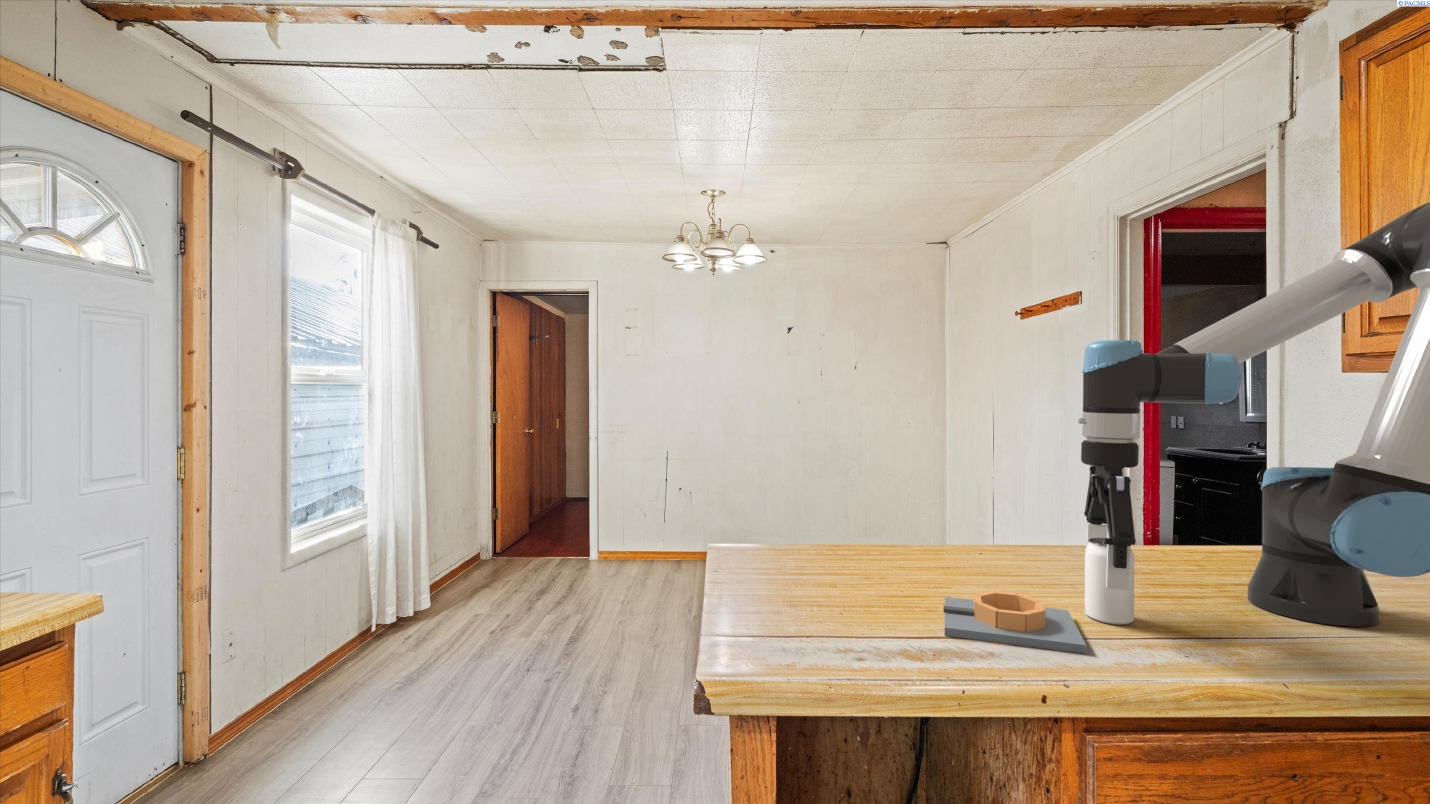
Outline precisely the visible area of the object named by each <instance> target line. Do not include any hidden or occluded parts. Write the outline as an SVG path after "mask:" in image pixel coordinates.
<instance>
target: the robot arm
mask: <svg viewBox="0 0 1430 804" xmlns="http://www.w3.org/2000/svg"><path fill="white" fill-rule="evenodd" d="M1416 288H1418V289H1419V295H1418V296H1417V300H1416V301H1415V305H1414V306H1413V309H1412V311H1411V314H1410V317H1409V319H1408V322H1407V325H1406V327H1405V330H1404V332H1403V334H1402V337H1401V339H1400V342H1399V345H1398V347H1397V350H1396V352H1395V354H1394V357H1393V359H1392V363H1391V364H1390V367H1389V368H1388V372H1387V374H1386V377H1385V379H1384V382H1383V384H1382V386H1381V389H1380V392H1379V394H1378V397H1377V399H1376V402H1375V404H1374V406H1373V409H1372V412H1371V414H1370V416H1369V418H1368V421H1367V424H1366V427H1365V429H1364V431H1363V434H1362V436H1361V439H1360V442H1359V445H1358V446H1357V449H1356V450H1355V451H1356V452H1354V453H1353V454H1352V455H1349V456H1347V457H1344V458H1342V459H1339V460H1337V461H1336V462H1335V463H1334V466H1333V467H1311V466H1310V467H1304V466H1303V467H1302V466H1300V467H1299V466H1295V467H1294V466H1274V467H1270V468H1267V469H1266V470H1265V471H1264V473H1263V476H1262V477H1263V478H1262V485H1261V487H1260V490H1261V497H1262V498H1261V557H1260V559H1259V561H1258V563H1257V565H1256V568H1255V569H1254V570H1253V571H1254V572H1253V574H1252V577H1251V578H1250V579H1249V583H1248V585H1247V600H1248V601H1249V602H1250V603H1251V604H1253V605H1254V606H1255V607H1259V608H1261V609H1263V610H1266V611H1268V612H1272V613H1274V614H1278V615H1281V616H1285V617H1289V618H1293V619H1297V620H1302V621H1306V622H1307V621H1308V622H1311V623H1317V624H1324V625H1331V626H1341V627H1357V628H1358V627H1373V626H1375V625H1378V624H1379V623H1380V607H1379V604H1378V602H1377V600H1376V597H1375V595H1374V592H1373V589H1372V587H1371V585H1370V583H1369V580H1368V578H1367V575H1366V573H1365V571H1367V572H1371V573H1372V572H1373V573H1377V574H1379V575H1384V576H1389V577H1396V578H1410V577H1411V578H1412V577H1419V576H1423V575H1426V574H1430V202H1427V203H1423V204H1422V205H1419V206H1416V207H1414V208H1412V209H1411V210H1409V211H1407V212H1405V213H1404V214H1402V215H1399V217H1397V218H1395V219H1393V220H1391V221H1390V222H1388V223H1387V224H1384V225H1383V226H1382V227H1379V228H1378V229H1377V230H1375V231H1372V233H1370V234H1368V235H1367V236H1364V237H1363V238H1361V239H1359V240H1358V241H1356V242H1354V243H1353V244H1351V245H1349V246H1347V247H1345V248H1344V249H1341V250H1339V251H1338V252H1336V253H1335V254H1334V256H1333V257H1332V261H1331V263H1328V264H1326V265H1324V266H1323V267H1321V268H1319V269H1318V270H1317V269H1316V270H1315V271H1313V272H1312V273H1309V274H1307V275H1306V276H1303V277H1301V278H1300V279H1297V280H1296V281H1294V282H1292V283H1290V284H1288V285H1285V286H1284V287H1282V288H1281V289H1278V290H1276V291H1274V292H1273V293H1271V294H1269V295H1267V296H1265V297H1263V298H1261V299H1259V300H1257V301H1255V302H1254V303H1251V304H1250V305H1247V306H1246V307H1244V308H1242V309H1240V310H1238V311H1236V312H1234V313H1232V314H1230V315H1228V316H1226V317H1224V318H1222V319H1220V320H1218V321H1216V322H1215V323H1213V324H1210V325H1208V326H1206V327H1205V328H1203V329H1201V330H1199V331H1197V332H1195V333H1193V334H1191V335H1189V336H1188V337H1185V338H1183V339H1181V340H1179V341H1178V342H1175V343H1174V344H1172V345H1171V346H1169V347H1166V348H1164V349H1162V350H1160V351H1158V352H1157V353H1148V352H1147V353H1146V352H1144V350H1143V347H1142V343H1141V342H1140V341H1138V340H1135V339H1134V340H1129V339H1128V340H1126V339H1118V340H1117V339H1113V340H1111V339H1110V340H1109V339H1108V340H1097V341H1091V342H1089V343H1088V344H1087V345H1086V346H1085V348H1084V358H1083V366H1082V370H1081V371H1082V417H1080V418H1078V419H1077V423H1078V424H1079V425H1082V427H1081V428H1082V429H1081V430H1082V431H1081V435H1082V437H1084V438H1086V439H1085V440H1082V442H1081V444H1080V446H1081V447H1080V450H1081V451H1080V461H1081V462H1082V463H1083V464H1084V465H1087V466H1090V467H1089V480H1088V487H1087V494H1086V501H1085V508H1084V512H1083V513H1084V516H1085V517H1086V522H1087V523H1086V524H1087V525H1086V528H1087V529H1086V546H1087V545H1088V543H1089V541H1088V539H1090V538H1105V540H1104V544H1107V565H1106V587H1107V588H1110V589H1119V590H1128V591H1129V568H1130V548H1131V546H1132V545H1133V546H1135V545H1136V536H1135V535H1136V534H1135V526H1134V517H1133V515H1134V514H1133V508H1132V497H1131V483H1132V479H1131V478H1130V476H1124V473H1123V470H1124V468H1126V469H1127V468H1128V469H1131V468H1135V467H1137V466H1138V465H1139V455H1140V453H1139V451H1140V446H1139V444H1138V443H1137V442H1135V440H1138V439H1140V436H1141V434H1140V431H1141V427H1140V426H1141V403H1150V404H1151V403H1160V404H1161V403H1165V404H1166V403H1168V404H1170V403H1171V404H1205V405H1207V406H1208V405H1209V404H1228V403H1230V402H1232V401H1233V400H1235V398H1236V397H1237V396H1238V394H1239V392H1240V390H1241V385H1242V379H1243V378H1242V375H1243V374H1242V373H1243V372H1242V367H1241V365H1240V364H1242V363H1244V362H1245V361H1248V360H1250V359H1252V358H1253V357H1257V355H1259V354H1262V353H1264V352H1266V351H1268V350H1270V349H1271V348H1275V347H1277V346H1278V345H1280V344H1283V343H1285V342H1286V341H1289V340H1291V339H1293V338H1294V337H1296V336H1298V335H1301V334H1302V333H1305V332H1307V331H1310V330H1311V329H1313V328H1315V327H1317V326H1319V325H1321V324H1323V323H1325V322H1327V321H1329V320H1331V319H1333V318H1336V317H1338V316H1340V315H1342V314H1344V313H1346V312H1348V311H1350V310H1352V309H1353V308H1356V307H1358V306H1360V305H1362V304H1364V303H1366V302H1368V303H1369V302H1370V303H1381V302H1384V301H1386V300H1388V299H1390V298H1392V297H1395V296H1397V295H1398V294H1400V293H1404V292H1407V291H1409V290H1412V289H1416ZM1364 570H1365V571H1364Z"/></svg>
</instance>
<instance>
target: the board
mask: <svg viewBox="0 0 1430 804" xmlns="http://www.w3.org/2000/svg"><path fill="white" fill-rule="evenodd" d="M943 613H944V636H946V637H952V638H959V639H960V638H961V639H966V640H967V639H968V640H977V641H983V642H990V643H991V642H992V643H999V644H1005V645H1006V644H1007V645H1013V646H1022V647H1029V648H1038V649H1045V650H1052V651H1053V650H1054V651H1059V652H1060V651H1062V652H1066V653H1067V652H1068V653H1069V652H1070V653H1075V654H1076V653H1077V654H1083V655H1086V654H1087V644H1086V642H1085V640H1084V638H1083V636H1082V634H1081V633H1080V630H1079V628H1078V627H1077V625H1076V623H1075V621H1074V620H1073V618H1072V615H1071V614H1070V611H1069V610H1068V609H1062V608H1052V607H1045V606H1044V604H1043V602H1042V601H1041V600H1039V599H1035V598H1033V597H1030V596H1027V595H1025V594H1021V593H1017V592H1016V593H1015V592H1005V591H996V590H990V591H986V592H985V591H984V592H979V593H975V594H973V599H969V598H968V599H967V598H959V597H951V596H945V597H944V605H943Z"/></svg>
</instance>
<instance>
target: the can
mask: <svg viewBox="0 0 1430 804" xmlns="http://www.w3.org/2000/svg"><path fill="white" fill-rule="evenodd" d="M1104 540H1105V538H1090V539H1088V541H1089V543H1088V545H1087V544H1086V547H1085V549H1084V550H1085V551H1084V613H1085V614H1086V616H1087V617H1088V618H1090V619H1092V620H1093V621H1095V622H1098V623H1102V624H1107V625H1112V626H1113V625H1114V626H1126V625H1127V626H1128V625H1130V624H1132V623H1133V622H1134V620H1135V619H1134V618H1135V554H1134V552H1133V549H1132V548H1131V547H1130V568H1129V591H1128V590H1119V589H1110V588H1107V587H1106V565H1107V544H1104Z"/></svg>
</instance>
